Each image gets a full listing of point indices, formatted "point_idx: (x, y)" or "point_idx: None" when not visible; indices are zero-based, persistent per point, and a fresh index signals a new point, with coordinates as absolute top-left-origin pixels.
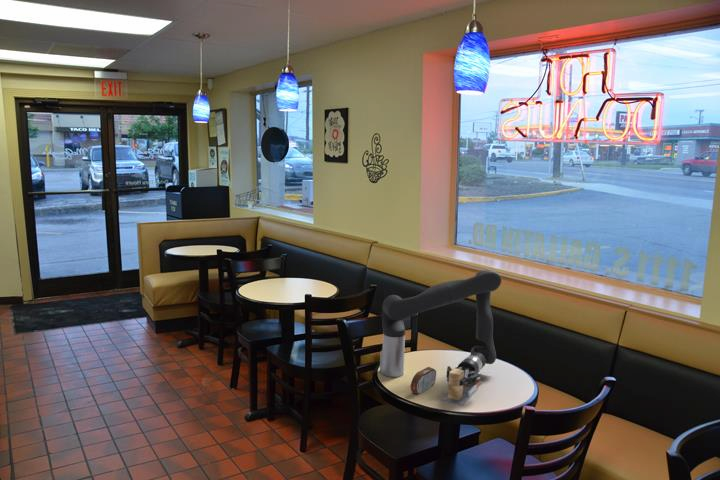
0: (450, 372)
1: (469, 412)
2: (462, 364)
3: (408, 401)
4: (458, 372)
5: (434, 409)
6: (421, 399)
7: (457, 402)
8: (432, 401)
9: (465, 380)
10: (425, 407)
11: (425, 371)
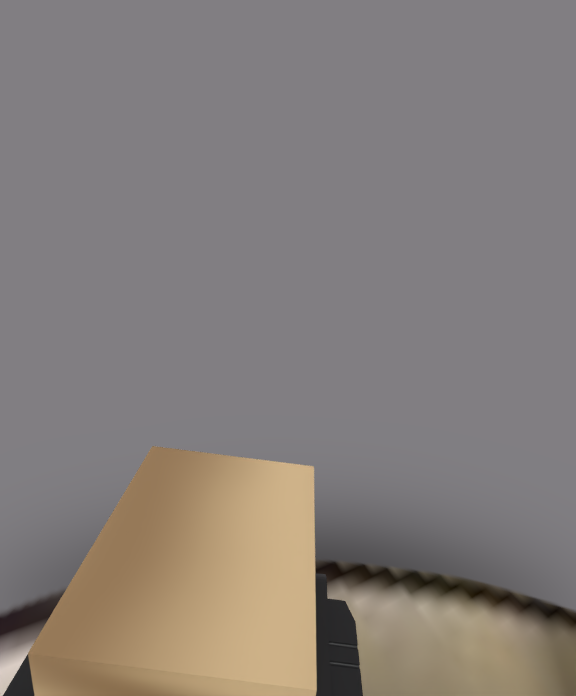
0: (297, 470)
1: (38, 631)
2: None
3: (524, 600)
4: (174, 506)
5: (315, 565)
6: (492, 684)
7: None
8: (396, 692)
9: (28, 664)
10: (378, 567)
11: None
